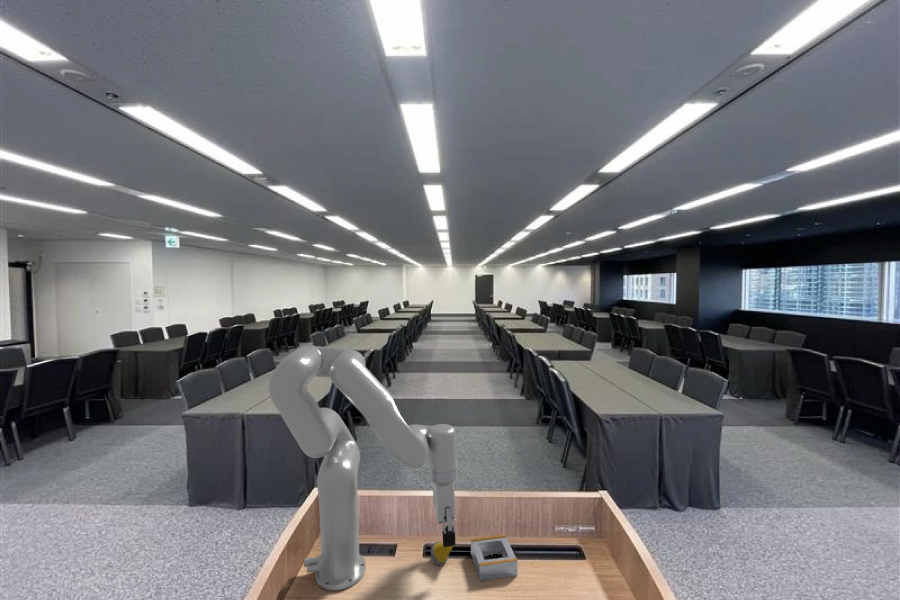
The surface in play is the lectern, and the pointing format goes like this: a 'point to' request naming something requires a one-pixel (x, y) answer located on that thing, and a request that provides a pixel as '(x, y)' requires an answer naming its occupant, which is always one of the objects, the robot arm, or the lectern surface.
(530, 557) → the lectern surface
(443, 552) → the drill bit
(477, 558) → the block
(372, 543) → the lectern surface
